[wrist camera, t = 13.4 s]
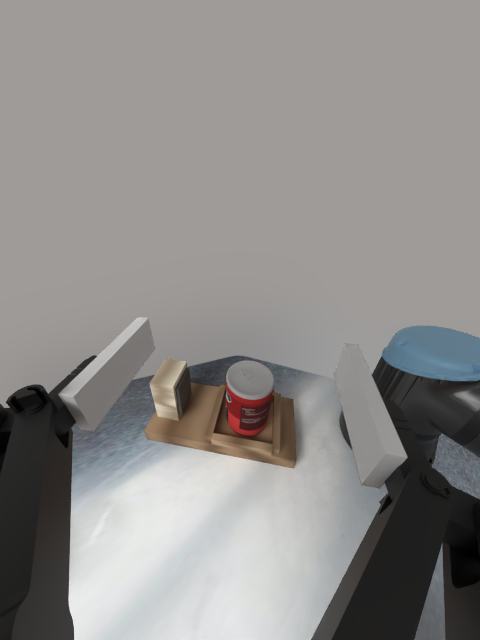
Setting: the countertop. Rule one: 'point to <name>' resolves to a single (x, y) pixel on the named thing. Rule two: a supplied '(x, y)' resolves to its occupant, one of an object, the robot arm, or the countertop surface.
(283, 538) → the countertop surface
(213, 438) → the wooden tray stand
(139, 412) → the countertop surface
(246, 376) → the canned food
